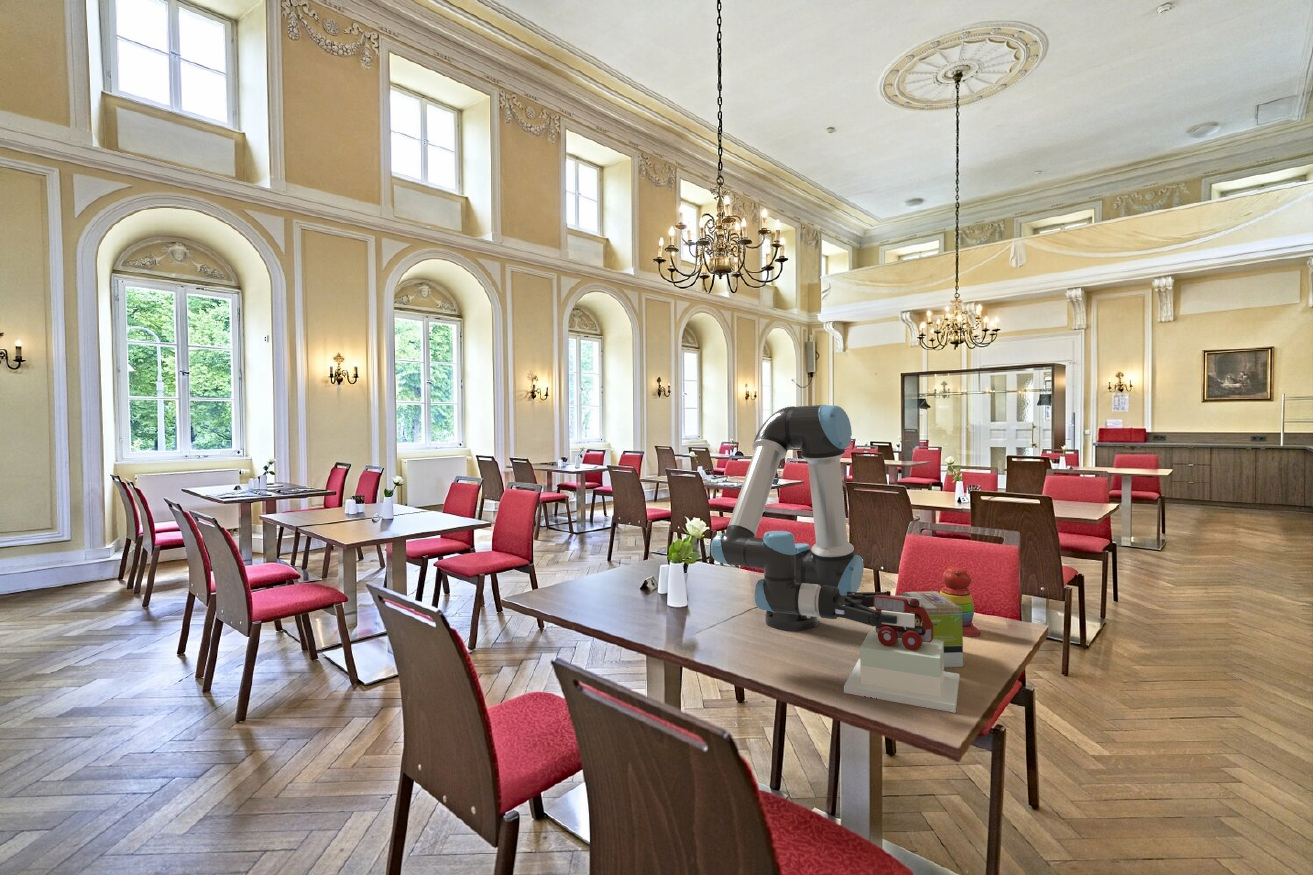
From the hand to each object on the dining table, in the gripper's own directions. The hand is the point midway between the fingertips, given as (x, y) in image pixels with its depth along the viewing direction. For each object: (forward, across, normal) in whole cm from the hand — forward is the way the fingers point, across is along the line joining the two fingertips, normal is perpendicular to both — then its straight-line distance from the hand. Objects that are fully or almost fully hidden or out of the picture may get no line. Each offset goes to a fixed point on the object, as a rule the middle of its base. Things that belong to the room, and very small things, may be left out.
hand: (917, 612), depth 137 cm
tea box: (+1, -22, -17) cm, 28 cm away
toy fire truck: (-3, 0, -8) cm, 8 cm away
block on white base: (-3, 0, -17) cm, 17 cm away
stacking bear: (+6, -47, -17) cm, 50 cm away
